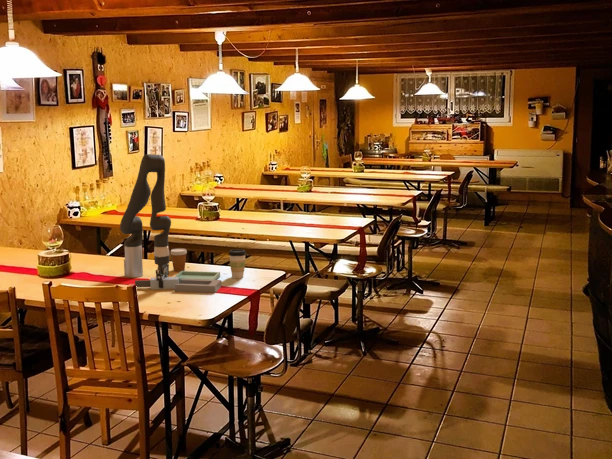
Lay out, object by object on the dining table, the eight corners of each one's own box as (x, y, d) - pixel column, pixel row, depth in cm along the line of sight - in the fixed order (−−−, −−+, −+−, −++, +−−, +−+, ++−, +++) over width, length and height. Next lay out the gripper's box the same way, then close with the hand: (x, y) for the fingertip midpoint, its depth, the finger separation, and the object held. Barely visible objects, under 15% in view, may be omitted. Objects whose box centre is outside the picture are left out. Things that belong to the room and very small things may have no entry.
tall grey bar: (134, 289, 322) (134, 280, 321) (136, 287, 326) (135, 278, 326) (178, 288, 324) (177, 279, 323) (178, 286, 329) (178, 276, 328)
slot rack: (175, 291, 319) (174, 284, 318) (182, 285, 331) (182, 278, 330) (215, 292, 317) (215, 286, 316) (221, 286, 328) (221, 280, 328)
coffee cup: (232, 280, 341) (232, 253, 338) (226, 276, 350) (225, 249, 347) (249, 278, 346) (249, 251, 343) (242, 274, 354) (242, 248, 351)
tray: (172, 282, 335) (172, 278, 335) (181, 275, 351) (181, 270, 351) (212, 284, 333) (212, 279, 333) (220, 276, 349) (220, 272, 348)
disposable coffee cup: (185, 272, 358) (185, 251, 355) (169, 272, 358) (168, 251, 356) (189, 268, 367) (188, 248, 365) (172, 268, 367) (172, 248, 365)
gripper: (159, 251, 330) (160, 282, 333) (149, 257, 316) (151, 289, 319) (173, 251, 329) (174, 282, 332) (164, 257, 315) (165, 290, 318)
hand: (163, 286), depth 325 cm, fingers closed on tall grey bar, 5 cm apart
